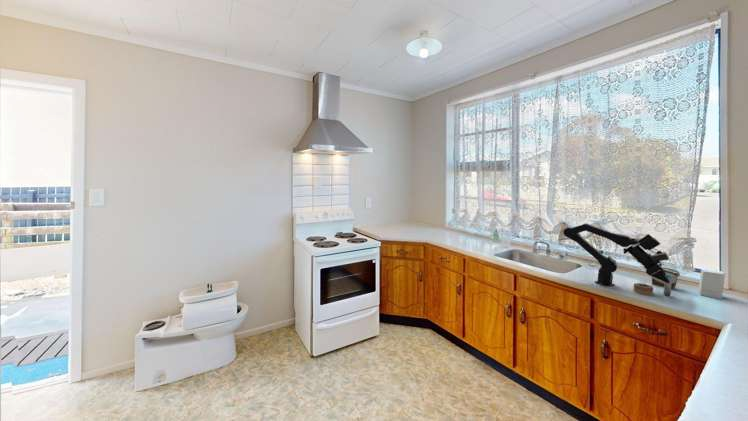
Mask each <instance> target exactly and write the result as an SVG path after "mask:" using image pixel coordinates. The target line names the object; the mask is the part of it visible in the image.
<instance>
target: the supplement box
mask: <svg viewBox="0 0 748 421" xmlns="http://www.w3.org/2000/svg"><path fill="white" fill-rule="evenodd" d="M699 276H700V277H699V278H700V279H699V285H698V293H699V295H700V296H703V297H704V296H705V297H709V298H714V299H719V300H720V299H721V300H722V299H723V296H724V295H723V292H724V287H725V286H724V285H725V276H726V274H725V273H724V272H723V271H722V270H715V269H707V268H700V275H699Z"/></svg>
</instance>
